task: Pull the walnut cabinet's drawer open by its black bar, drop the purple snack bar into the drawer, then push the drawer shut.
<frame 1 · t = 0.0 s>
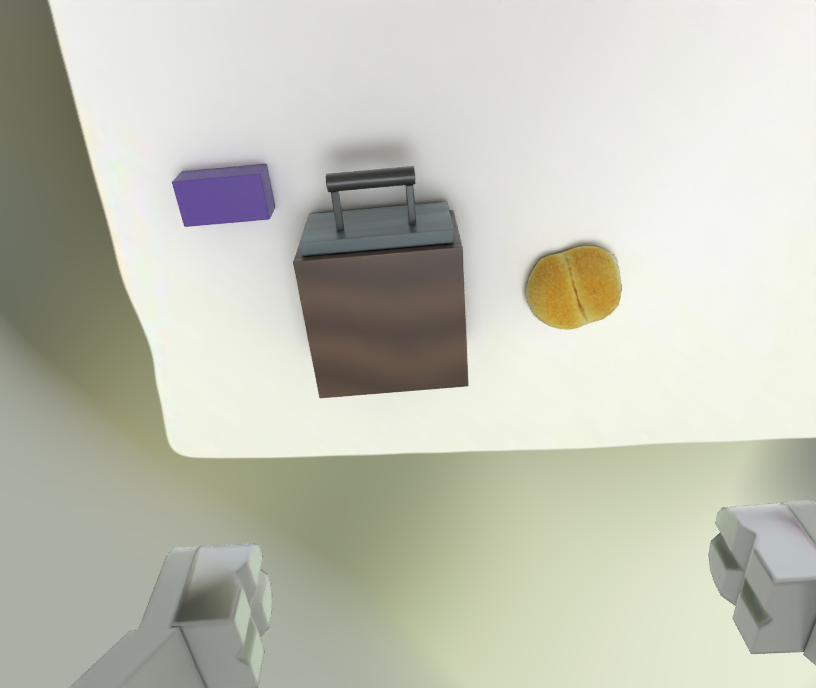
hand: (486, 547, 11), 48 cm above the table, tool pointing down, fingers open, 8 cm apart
snack bar: (229, 190, 57), on the table
drawer: (381, 263, 56), point 4 cm above the table, slide at 0.0 cm
bread roll: (572, 280, 62), on the table
cabinet: (386, 283, 62), on the table
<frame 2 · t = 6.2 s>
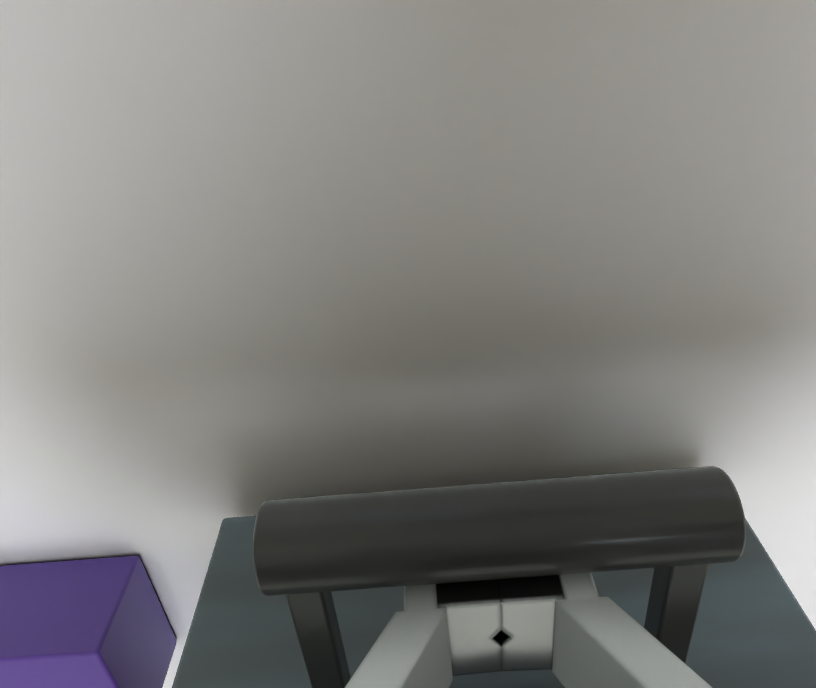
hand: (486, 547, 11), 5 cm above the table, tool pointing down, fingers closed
snack bar: (36, 608, 19), on the table
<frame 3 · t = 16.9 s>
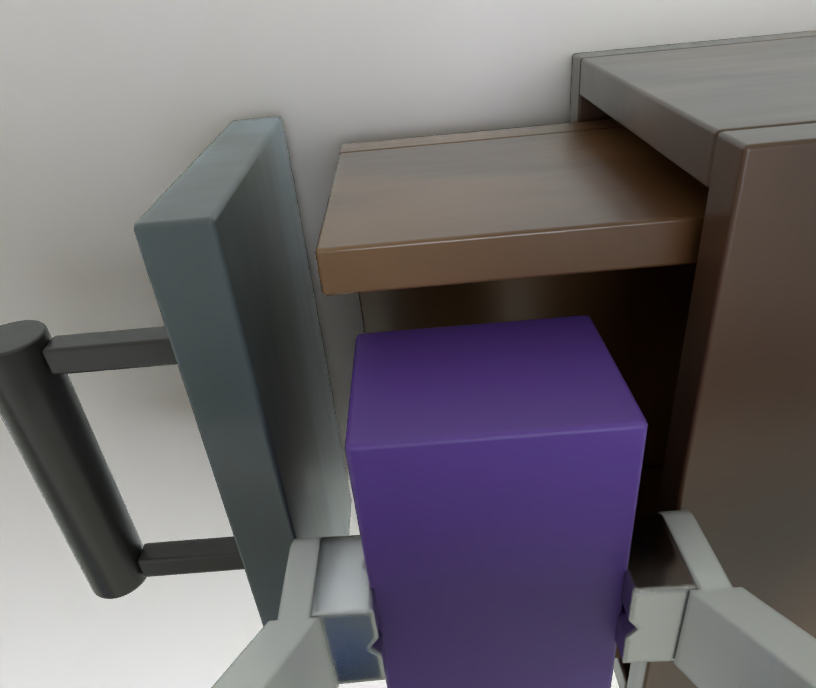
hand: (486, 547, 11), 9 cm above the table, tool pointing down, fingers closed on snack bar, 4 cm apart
snack bar: (478, 484, 13), point 7 cm above the table, touching gripper
drawer: (423, 406, 15), point 4 cm above the table, slide at 6.9 cm
cabinet: (795, 285, 18), on the table
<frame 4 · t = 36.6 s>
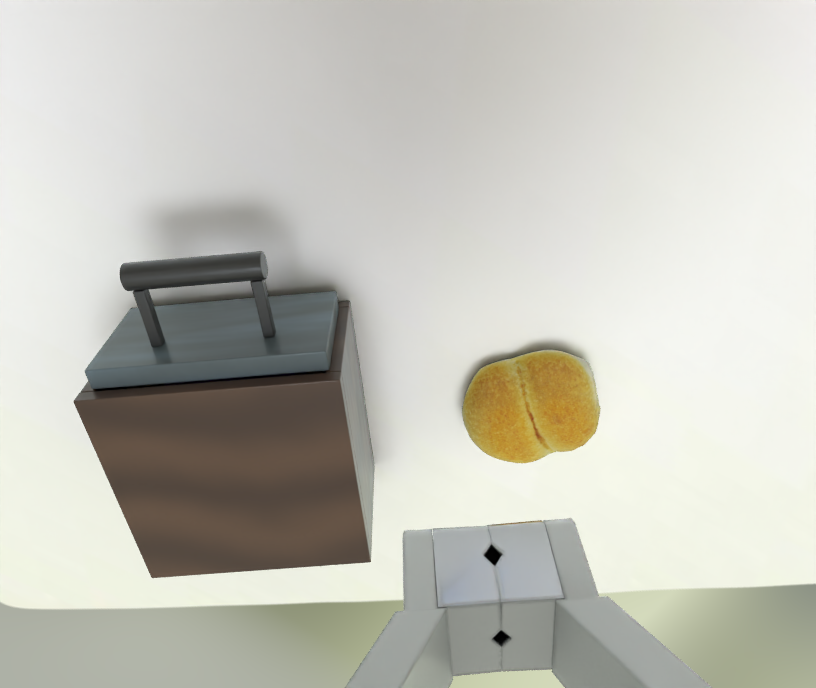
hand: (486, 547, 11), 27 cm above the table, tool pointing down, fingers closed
snack bar: (245, 374, 39), point 2 cm above the table, touching drawer
drawer: (235, 385, 37), point 4 cm above the table, slide at 0.0 cm, touching cabinet, snack bar
bread roll: (529, 393, 43), on the table
cabinet: (262, 398, 43), on the table
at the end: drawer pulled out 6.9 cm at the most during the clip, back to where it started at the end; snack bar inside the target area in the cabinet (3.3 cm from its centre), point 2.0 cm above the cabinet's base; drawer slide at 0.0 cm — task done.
